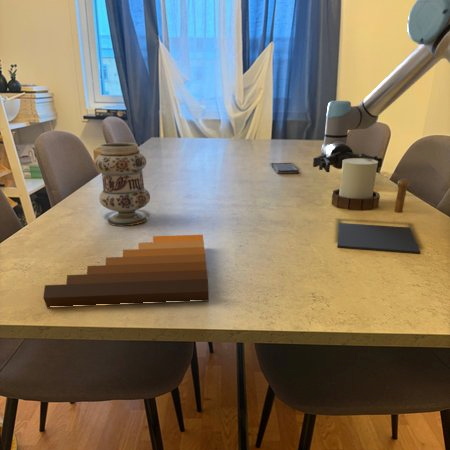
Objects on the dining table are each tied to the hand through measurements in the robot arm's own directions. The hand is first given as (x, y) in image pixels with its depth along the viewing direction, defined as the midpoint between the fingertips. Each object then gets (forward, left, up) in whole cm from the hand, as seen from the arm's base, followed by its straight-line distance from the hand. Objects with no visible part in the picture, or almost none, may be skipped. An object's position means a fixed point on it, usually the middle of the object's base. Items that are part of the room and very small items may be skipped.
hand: (352, 167), depth 122 cm
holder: (-4, +7, -9) cm, 12 cm away
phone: (+24, -38, -9) cm, 45 cm away
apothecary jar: (+54, +35, -9) cm, 65 cm away
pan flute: (+38, +65, -9) cm, 76 cm away
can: (-1, +7, -9) cm, 11 cm away
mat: (-5, +35, -9) cm, 37 cm away
